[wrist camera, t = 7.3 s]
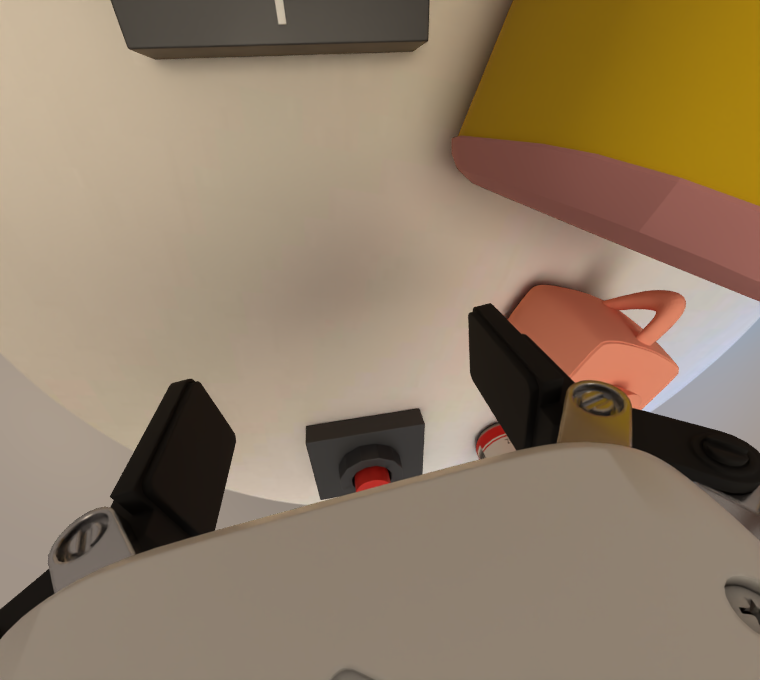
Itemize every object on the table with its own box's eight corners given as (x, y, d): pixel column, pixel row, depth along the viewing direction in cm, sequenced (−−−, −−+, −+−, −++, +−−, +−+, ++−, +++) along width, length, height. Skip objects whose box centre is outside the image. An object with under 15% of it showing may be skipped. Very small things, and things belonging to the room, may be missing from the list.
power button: (355, 488, 35) (357, 504, 34) (352, 468, 33) (354, 483, 32) (388, 482, 36) (392, 497, 34) (387, 461, 34) (391, 477, 32)
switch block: (320, 482, 39) (320, 515, 36) (305, 426, 34) (305, 459, 31) (417, 465, 41) (426, 495, 38) (419, 408, 35) (430, 437, 32)
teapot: (642, 277, 31) (770, 338, 22) (526, 412, 39) (587, 495, 30) (554, 233, 27) (669, 286, 18) (446, 394, 35) (489, 483, 26)
